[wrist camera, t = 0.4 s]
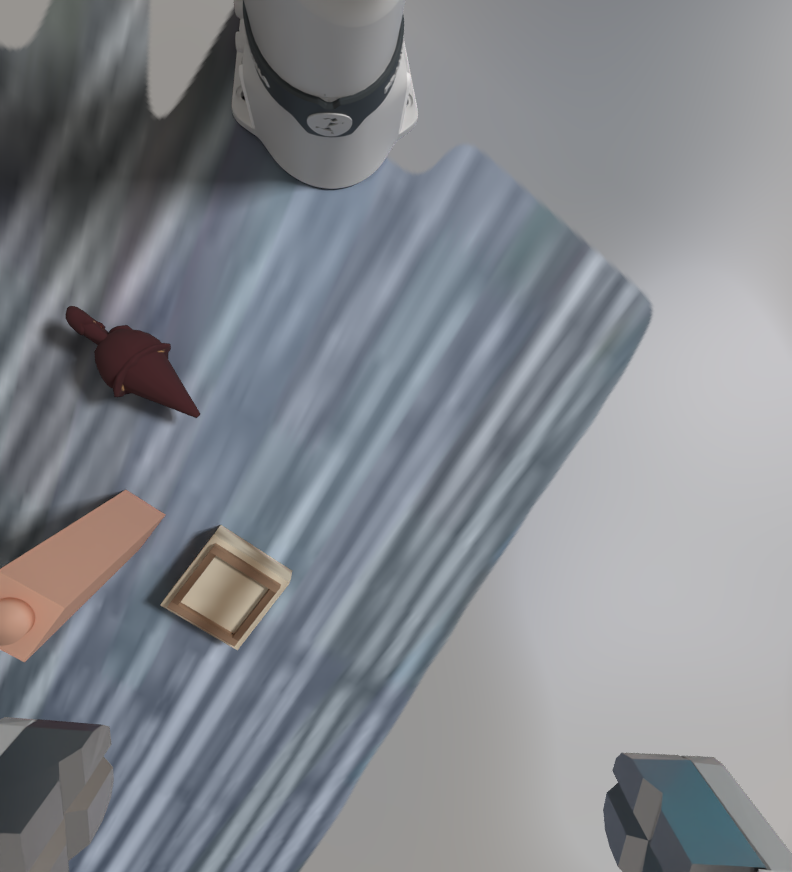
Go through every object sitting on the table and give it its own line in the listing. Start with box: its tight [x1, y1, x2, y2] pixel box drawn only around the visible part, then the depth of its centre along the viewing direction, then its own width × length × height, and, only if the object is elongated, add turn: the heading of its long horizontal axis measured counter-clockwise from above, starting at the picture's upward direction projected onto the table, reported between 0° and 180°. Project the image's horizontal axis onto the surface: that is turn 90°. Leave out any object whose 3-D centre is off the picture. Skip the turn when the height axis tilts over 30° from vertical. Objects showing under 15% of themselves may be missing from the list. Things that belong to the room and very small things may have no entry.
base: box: [161, 525, 292, 650], centre depth 53 cm, size 10×10×4 cm
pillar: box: [0, 490, 165, 662], centre depth 41 cm, size 5×5×21 cm
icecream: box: [66, 306, 200, 418], centre depth 46 cm, size 7×7×15 cm
